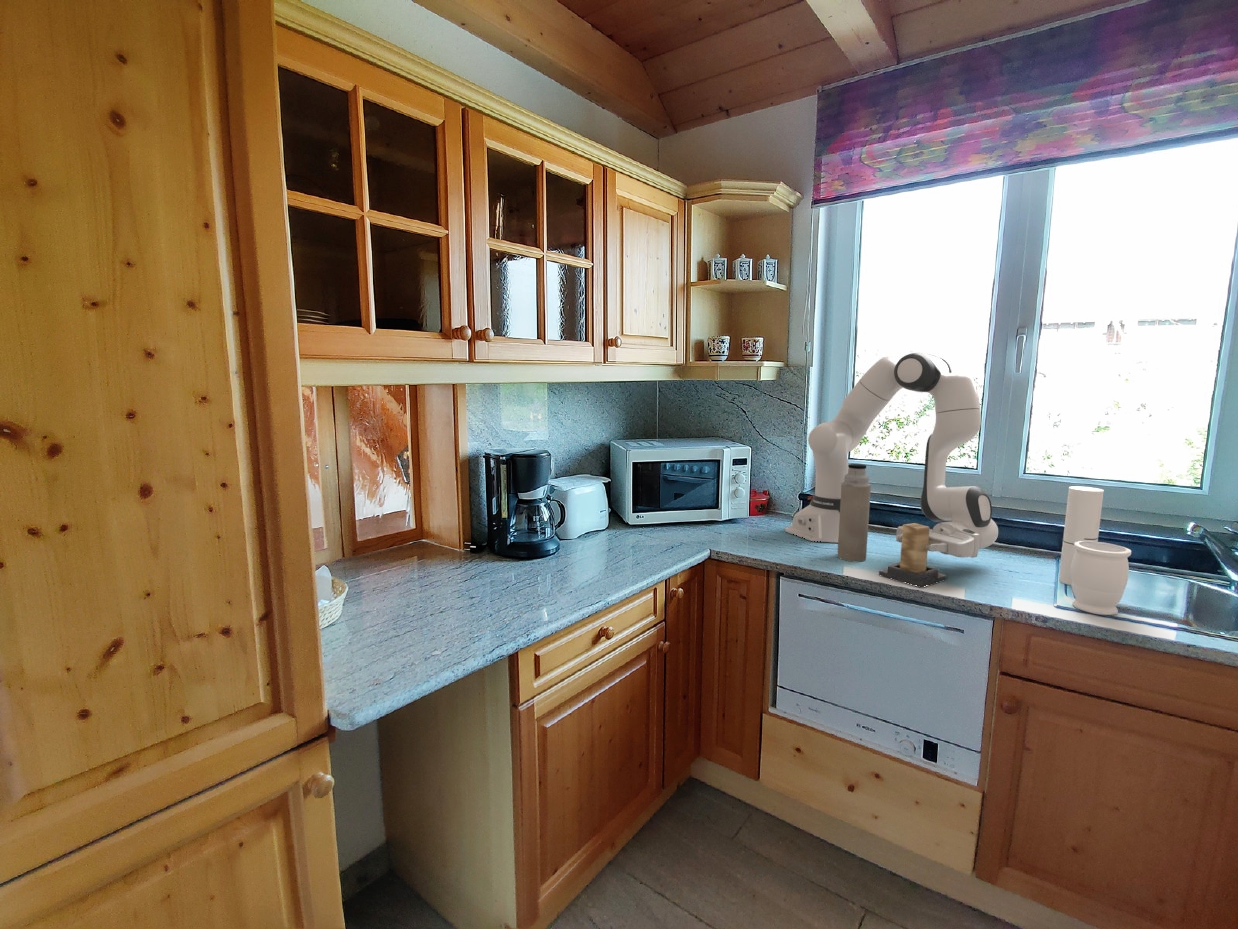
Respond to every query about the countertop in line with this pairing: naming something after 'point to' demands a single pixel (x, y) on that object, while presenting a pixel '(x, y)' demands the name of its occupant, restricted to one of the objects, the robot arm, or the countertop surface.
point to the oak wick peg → (914, 547)
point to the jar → (1099, 576)
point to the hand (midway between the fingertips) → (913, 543)
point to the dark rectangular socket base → (913, 575)
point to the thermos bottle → (854, 514)
